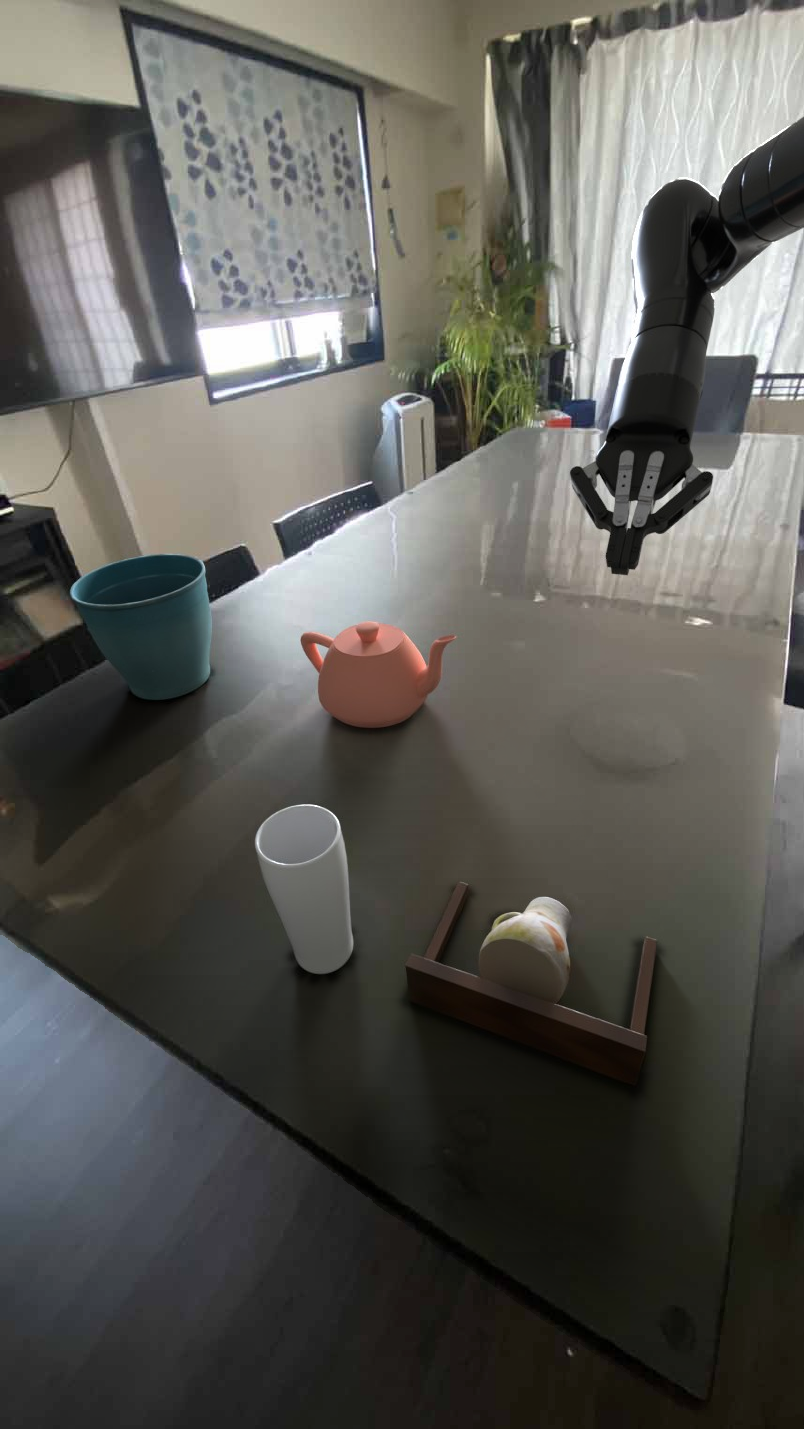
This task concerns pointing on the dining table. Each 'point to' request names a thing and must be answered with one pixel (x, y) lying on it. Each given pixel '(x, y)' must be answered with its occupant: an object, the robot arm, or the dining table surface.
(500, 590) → the dining table surface
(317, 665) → the teapot
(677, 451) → the robot arm
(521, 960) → the mug
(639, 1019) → the walnut rack
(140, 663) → the flower pot
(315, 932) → the drinking glass
